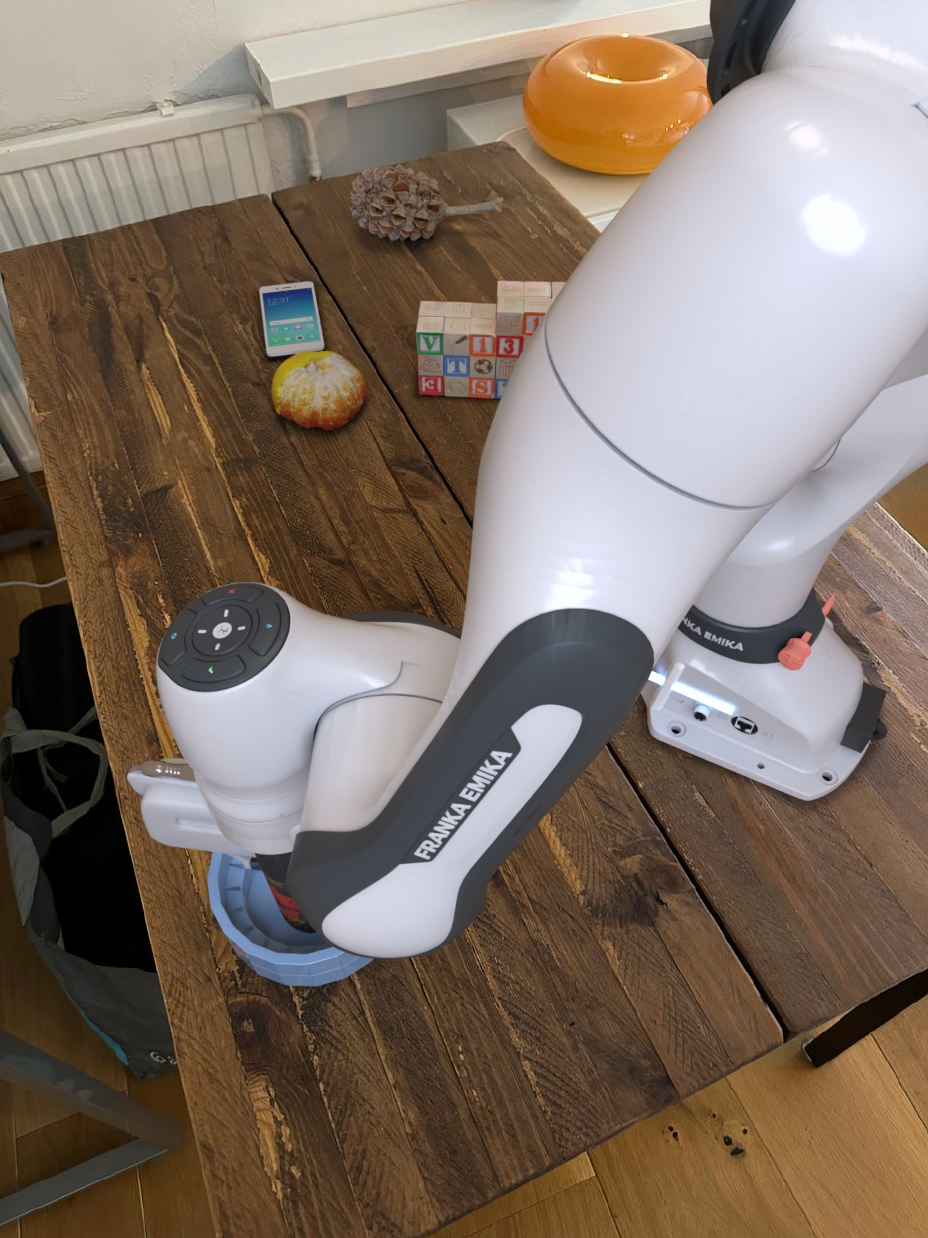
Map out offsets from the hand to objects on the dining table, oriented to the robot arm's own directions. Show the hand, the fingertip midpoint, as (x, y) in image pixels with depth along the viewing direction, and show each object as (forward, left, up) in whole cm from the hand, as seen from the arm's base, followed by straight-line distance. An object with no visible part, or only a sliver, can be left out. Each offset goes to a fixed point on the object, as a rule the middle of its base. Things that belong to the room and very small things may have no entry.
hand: (305, 867), depth 71 cm
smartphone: (+56, -54, -7) cm, 78 cm away
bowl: (0, 0, -7) cm, 7 cm away
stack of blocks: (+27, -62, -7) cm, 67 cm away
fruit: (+41, -44, -7) cm, 61 cm away
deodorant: (0, 0, -6) cm, 6 cm away
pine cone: (+55, -81, -7) cm, 98 cm away
